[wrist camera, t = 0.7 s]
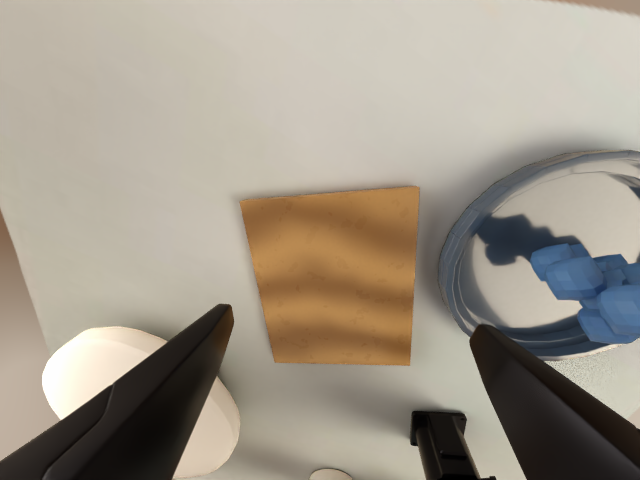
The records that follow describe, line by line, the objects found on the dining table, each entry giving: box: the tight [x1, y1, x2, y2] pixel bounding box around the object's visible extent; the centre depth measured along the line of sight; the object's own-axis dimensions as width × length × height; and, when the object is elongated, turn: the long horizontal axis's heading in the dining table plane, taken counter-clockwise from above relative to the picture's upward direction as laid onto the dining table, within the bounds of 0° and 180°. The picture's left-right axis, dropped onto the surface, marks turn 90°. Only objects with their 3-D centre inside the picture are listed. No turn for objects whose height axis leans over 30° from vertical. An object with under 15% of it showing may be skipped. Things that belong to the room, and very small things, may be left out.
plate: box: [42, 326, 240, 478], centre depth 31 cm, size 28×6×27 cm
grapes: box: [530, 243, 640, 344], centre depth 15 cm, size 12×7×12 cm, turn 77°
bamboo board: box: [240, 186, 420, 366], centre depth 24 cm, size 20×16×1 cm
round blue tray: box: [438, 150, 640, 361], centre depth 20 cm, size 19×19×2 cm
